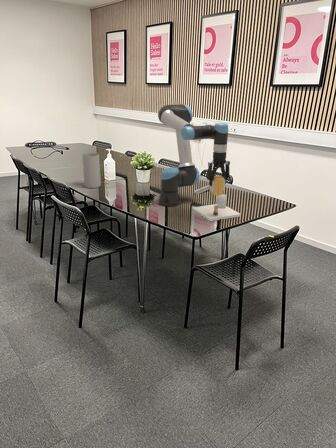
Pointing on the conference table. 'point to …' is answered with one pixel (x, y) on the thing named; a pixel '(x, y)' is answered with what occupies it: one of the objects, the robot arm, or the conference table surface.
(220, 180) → the wire cap
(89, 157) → the cylinder vase
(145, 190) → the conference table surface
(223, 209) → the plate
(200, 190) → the wrench
